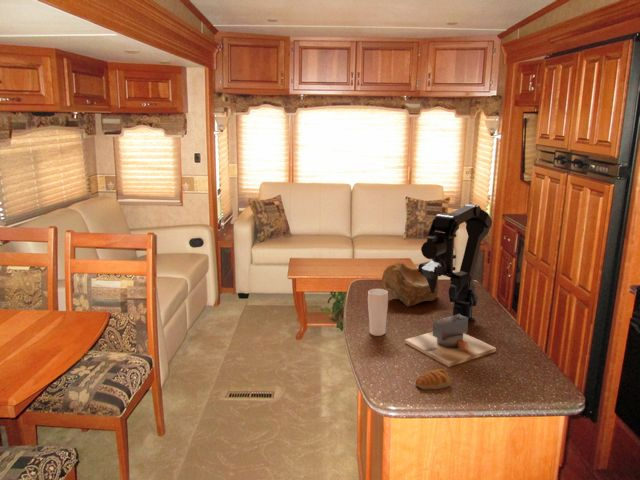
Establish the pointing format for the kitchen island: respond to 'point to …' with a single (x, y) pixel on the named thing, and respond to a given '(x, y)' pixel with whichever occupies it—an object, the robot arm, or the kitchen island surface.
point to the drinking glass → (377, 311)
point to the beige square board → (450, 349)
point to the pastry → (433, 379)
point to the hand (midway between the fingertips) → (443, 296)
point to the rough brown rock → (407, 284)
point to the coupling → (451, 331)
